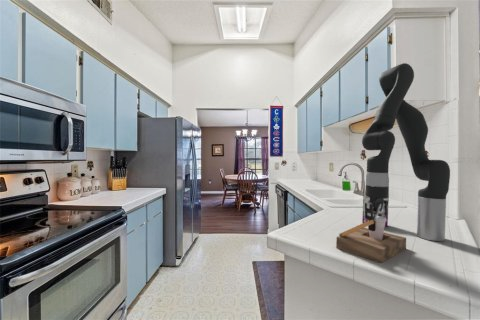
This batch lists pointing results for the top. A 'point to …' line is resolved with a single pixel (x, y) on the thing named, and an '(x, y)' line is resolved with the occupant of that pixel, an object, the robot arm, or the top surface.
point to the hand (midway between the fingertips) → (375, 228)
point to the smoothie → (378, 228)
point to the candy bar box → (366, 200)
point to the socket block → (371, 245)
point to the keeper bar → (356, 228)
